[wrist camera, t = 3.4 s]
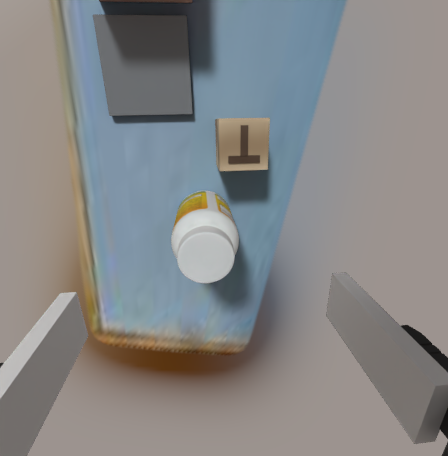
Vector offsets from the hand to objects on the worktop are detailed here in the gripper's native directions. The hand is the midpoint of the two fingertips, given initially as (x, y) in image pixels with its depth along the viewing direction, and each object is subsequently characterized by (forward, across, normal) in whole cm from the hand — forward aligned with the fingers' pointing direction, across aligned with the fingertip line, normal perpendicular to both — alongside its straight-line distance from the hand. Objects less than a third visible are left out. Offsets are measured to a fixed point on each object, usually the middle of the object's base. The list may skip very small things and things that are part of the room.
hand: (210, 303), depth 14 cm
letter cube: (+14, +4, +7) cm, 17 cm away
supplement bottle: (+15, 0, 0) cm, 15 cm away
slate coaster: (+14, -4, +13) cm, 20 cm away
